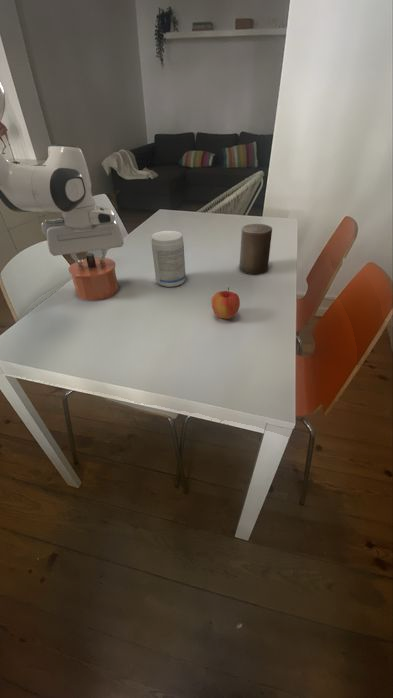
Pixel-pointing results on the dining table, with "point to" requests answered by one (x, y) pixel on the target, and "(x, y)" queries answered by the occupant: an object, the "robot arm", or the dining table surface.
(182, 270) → the supplement tub
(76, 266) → the bowl lid
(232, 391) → the dining table surface
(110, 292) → the bowl
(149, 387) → the dining table surface
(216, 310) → the apple
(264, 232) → the pillar candle
